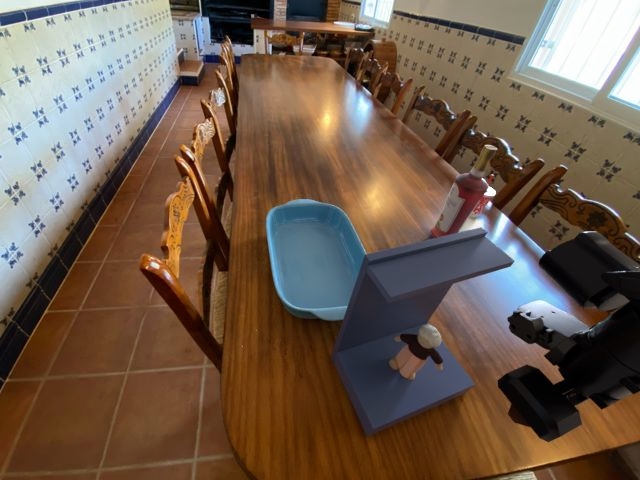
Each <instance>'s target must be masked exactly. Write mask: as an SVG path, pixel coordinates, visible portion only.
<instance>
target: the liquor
mask: <svg viewBox="0 0 640 480" xmlns="http://www.w3.org/2000/svg"><path fill="white" fill-rule="evenodd" d="M497 151H498V148H497V146H494V145H492V144H484V146H483V147H482V149H481V151H480V154H479V157H478V159H477V160H476V162H475V164H474V165H473V166H472V168H471V170H470V171H469V172H464V173H461V174H460V173H459V174H458V175H456V177H455V179H454V181H453V183H452V185H451V188H450V190H449V192H448V195H447V197H446V199H445V201H444V202H445V203H444V205H443V207H442V209H441V212H440V213H439V216H438V218H437V220H436V222H435V224H434V226H433V227H432V228H430V234H431V236H432V237H433V238H438V237H442V236H446V235H450V234H455V233H459V232H461V230H462V228H463V227H464V225H465V224H466V222H467V221H468V219H469V218H470V215H471V213H472V212H473V210H474V209H475V207H476V206H477V205H478V203H479V202H480V200H481V198H482V197H483V195H484V194H485V192H486V191H487V189H488V188H489V187H490V186H489V185H488V184H487V183H488V181H486V179H485V178H483V177H484V175H485V173H486V170H487V168H488V166H489V163H490V161H492V159H493V158H494V157H495V155H496V153H497Z"/></svg>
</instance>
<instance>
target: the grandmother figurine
mask: <svg viewBox="0 0 640 480" xmlns="http://www.w3.org/2000/svg"><path fill="white" fill-rule="evenodd" d="M429 324H430V323H429ZM429 324H427V325H422V326H421V327H420V328H419V334H418V335H417V334H401V335H396V336H395V337H394V339H395V341H396V342H400V341H403V342H405V343H407V345H406V346H404V347H403V348H402V349H401V350H400V352H399V353H398V354H397V356H395V357H394V358H392V359H390V361H389V364H390V366H391V367H392V368H393V369H394V370H399V369H400V373H401V375H402V376H403V377H405V378H407V379H409V380H413V379H414V378H415V373H416V372H418V371H419V370H420V369H421V368H422V367H423V365H424V364H425V363H426V361H427V359H428V356H430V357H431V359H432V360H433V361H434V363H435V367H436V369H437V370H439V371H441V370H442V369H443V367H442V363H443V359H442V357H441V356H440V354H439V353H438V351H437V350H436V349H434V347H438V346H440V344H441V340H442V336H441V334H440V332H439V331H438V329H437V327H435V326H433V325H431V324H430V325H429Z"/></svg>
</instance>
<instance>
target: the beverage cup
mask: <svg viewBox="0 0 640 480" xmlns="http://www.w3.org/2000/svg"><path fill="white" fill-rule="evenodd" d="M494 176H495V175H494V174H491V175H490V177H489V179H488V181H487V184H488V186H489V185H490V183H491V181H492V180H493V178H494ZM496 194H497V193H496V190H495V189H494V188H492V187H491V186H489V188H488V189H487V191H486V192H485V194H484V195H483V197H482V198H481V200H480V202H479V203H478V205H477V206H476V207H475V209H474V210H473V212H472V213H471V215H470V216H469V218H478V217H479V216H480V215H481V213H483V211H484V210H485V208H486V207H487V205H488V204H489V202H490V201H491V200H492V198H494V197H495V195H496Z"/></svg>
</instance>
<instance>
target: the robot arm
mask: <svg viewBox="0 0 640 480" xmlns="http://www.w3.org/2000/svg"><path fill="white" fill-rule="evenodd" d="M538 267H539V268H540V269H541V270H542V271H543V272H544V273H545V274H546V275H547V276H548V277H549V278H550V279H551V280H552V281H553V282H554V283H555V284H556V285H557V286H558V287H559V288H561V290H563V292H564V293H565V294H567V296H568V297H570V298H571V300H572V301H574V302H575V303H576V305H578V307H580V308H583V309H584V308H588V309H589V308H594V307H595V308H596V309H597V310H598V311H600V312H608V311H612V310H615V309H617V308H619V309H617V310H615V311H614V312H613V313H612V314H610V315H609V316H607V317H606V318H605V319H603V320H602V321H600V322H598V323H594V324H593V325H592V326H589V325H587V324H586V323H585V322H583V321H580V320H579V319H578V318H577V317H576V316H574V315H573V314H570V313H568V312H566V311H564V310H562V309H561V308H559V307H557V306H555V305H553V304H551V303H550V302H546V301H544V300H538V299H536V300H533V301H530V302H528V303H524V304H521V305H519V306H518V307H517V309H516V310H513V312H512V314H511V315H509V316H507V317H506V318H507V323H508V329H509V331H510V333H511V334H512V335H514V336H515V337H517V338H518V339H520V340H521V341H523V342H525V343H526V344H527V345H533V344H536V345H537V346H539V347H540V348H542V349H544V350H547V352H546V353H544V354H543V357H544V358H545V359H546V360H547V361H548V362H549V363H550V364H551V365H552V366H553V367H554V366H555V367H556V366H557V367H558V368H557V370H558V372H559V374H560V375H561V377H562V378H563V379H562V380H560V381H558V382H556V383H553V382H552V381H551V380H550V379H549V378H548V377H547V375H545V373H544V372H543V371H542V370H541V369H540V368H538V367H535V366H533V365H530V364H525V365H522V366H520V367H518V368H514V369H513V370H510V371H508V372H506V373H504V375H502V376H501V377H499V378H498V379H497V388H498V389H499V390H500V392H501V393H502V394H503V395H504V396H505V398H506V399H507V400H508V402H510V406H509V409H508V412H507V415H508V417H509V418H510V419H511V421H512V422H513V423H515V424H517V425H521V426H524V427H527V428H531V430H532V431H533V432H534V433H535V435H536V436H537V437H538V438H539V439H541V440H543V441H545V442H547V443H550V442H553V441H554V440H556V439H557V440H558V439H559V438H561V437H563V436H565V435H566V434H568V433H570V432H572V431H573V430H575V429H577V428H578V427H580V426H582V425H583V422H582V418H581V413H580V410H579V409H578V408H577V406H579V405H581V404H582V403H585V402H586V401H588V400H591V402H593V403H594V404H595V405H596V406H597V407H598V408H599V409H600V410H604V409H606V408H609V407H610V406H613V405H614V404H615V403H617V402H619V401H621V400H622V399H624V398H626V397H629V396H631V395H637V394H638V393H640V264H639V263H637V262H636V261H635V260H633V259H632V258H631V257H629V256H628V255H626V253H624V252H623V251H621V250H620V249H618V248H617V247H616V246H614V245H613V244H612V243H611V242H610V241H609V240H608V239H607V238H606V237H605V236H604V235H602V234H601V233H600V232H598V231H581V232H579V233H578V234H577V235H576V236H575V237H574V238H571V239H569V240H566V241H564V242H561V243H560V244H558V245H557V246H555V247H553V248H552V249H551V250H547V251H545V252H544V253H543V254H542V256H541V257H540V258H539V260H538Z"/></svg>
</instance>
